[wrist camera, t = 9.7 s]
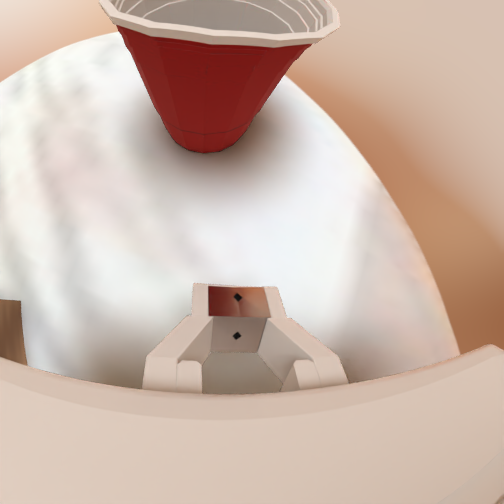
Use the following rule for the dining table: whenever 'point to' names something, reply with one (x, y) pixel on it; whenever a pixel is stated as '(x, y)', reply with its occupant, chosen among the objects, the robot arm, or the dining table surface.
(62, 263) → the dining table surface
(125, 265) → the dining table surface
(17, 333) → the walnut block
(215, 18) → the plastic cup
